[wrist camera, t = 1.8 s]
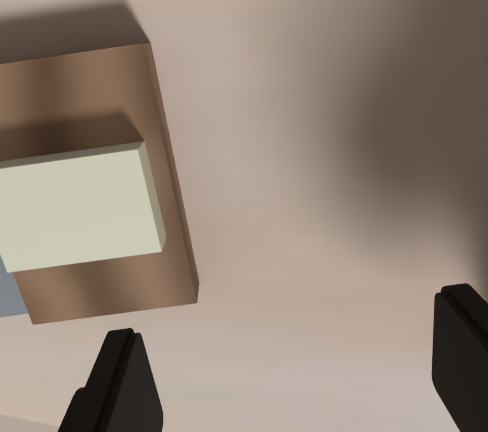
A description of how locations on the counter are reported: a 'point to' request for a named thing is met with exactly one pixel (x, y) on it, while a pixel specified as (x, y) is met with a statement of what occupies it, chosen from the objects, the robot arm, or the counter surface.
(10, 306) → the slate mat
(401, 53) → the counter surface
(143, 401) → the robot arm
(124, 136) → the walnut deck
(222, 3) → the counter surface
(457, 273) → the counter surface
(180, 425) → the counter surface
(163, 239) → the sage tile
